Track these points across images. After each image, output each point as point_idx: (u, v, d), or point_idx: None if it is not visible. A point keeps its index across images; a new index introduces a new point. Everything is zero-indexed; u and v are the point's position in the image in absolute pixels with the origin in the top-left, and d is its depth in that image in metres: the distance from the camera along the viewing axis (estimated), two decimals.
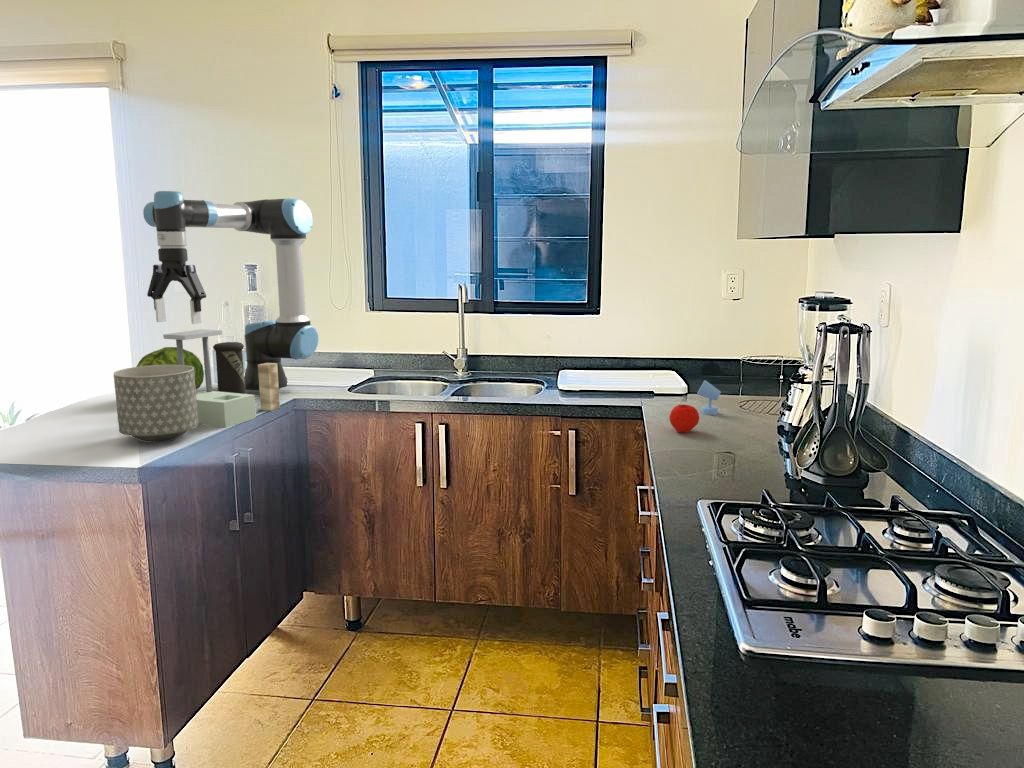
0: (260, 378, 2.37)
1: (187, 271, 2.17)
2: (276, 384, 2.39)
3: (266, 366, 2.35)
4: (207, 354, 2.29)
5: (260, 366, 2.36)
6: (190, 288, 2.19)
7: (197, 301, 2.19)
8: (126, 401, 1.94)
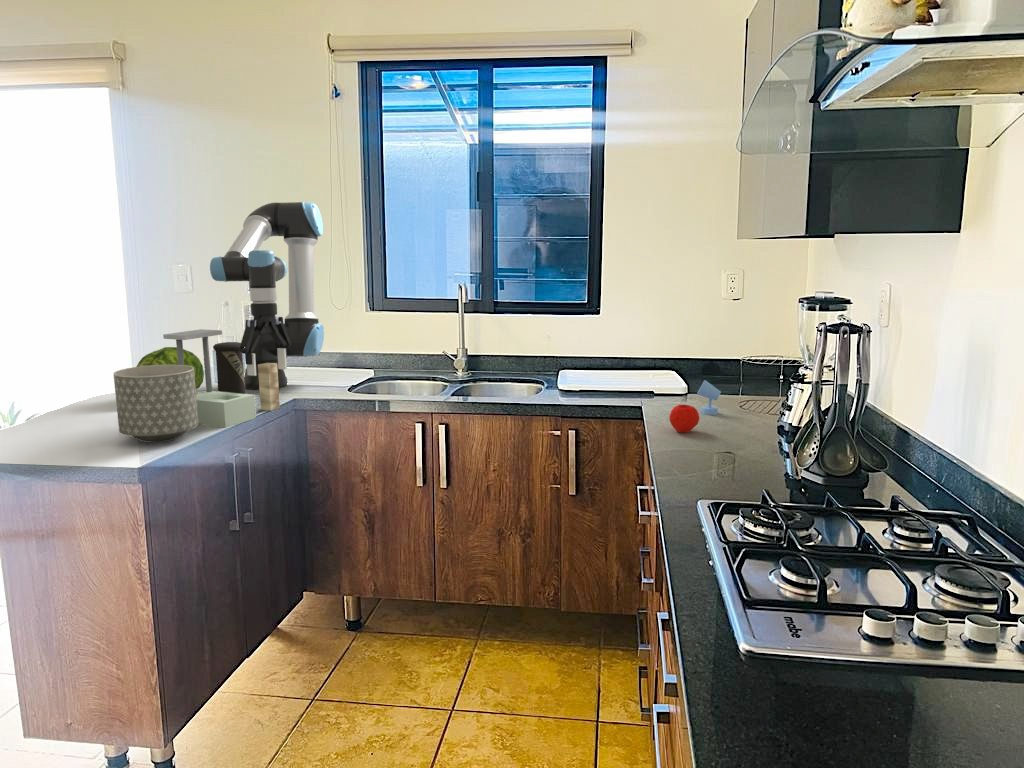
0: (260, 378, 2.37)
1: None
2: (276, 384, 2.39)
3: (266, 366, 2.35)
4: (207, 354, 2.29)
5: (260, 366, 2.36)
6: None
7: (245, 354, 2.29)
8: (126, 401, 1.94)
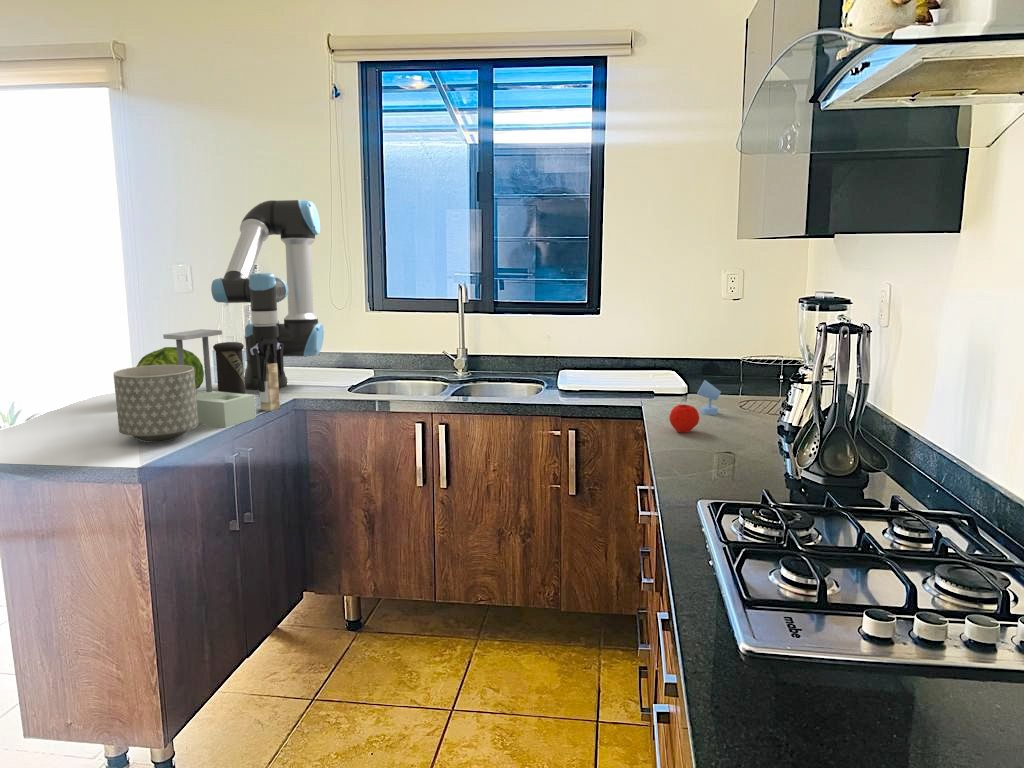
0: None
1: None
2: (276, 384, 2.39)
3: (266, 366, 2.35)
4: (207, 354, 2.29)
5: None
6: None
7: (258, 382, 2.35)
8: (126, 401, 1.94)
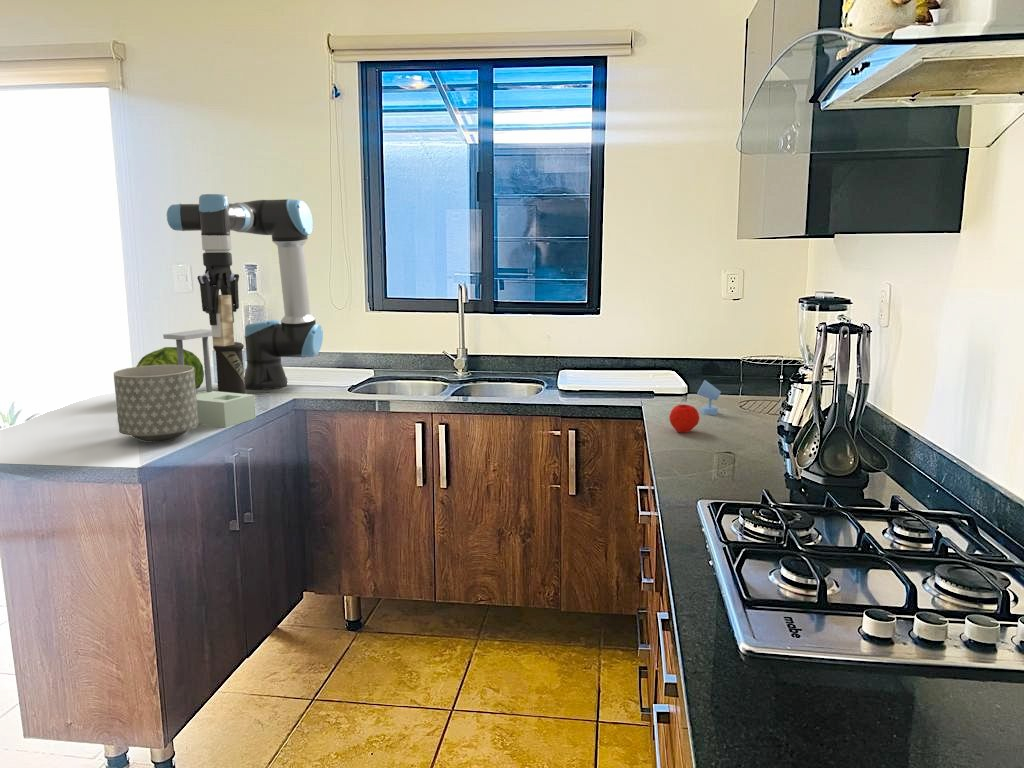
0: None
1: None
2: (229, 318, 2.18)
3: (218, 297, 2.15)
4: (207, 354, 2.29)
5: None
6: None
7: (209, 314, 2.15)
8: (126, 401, 1.94)
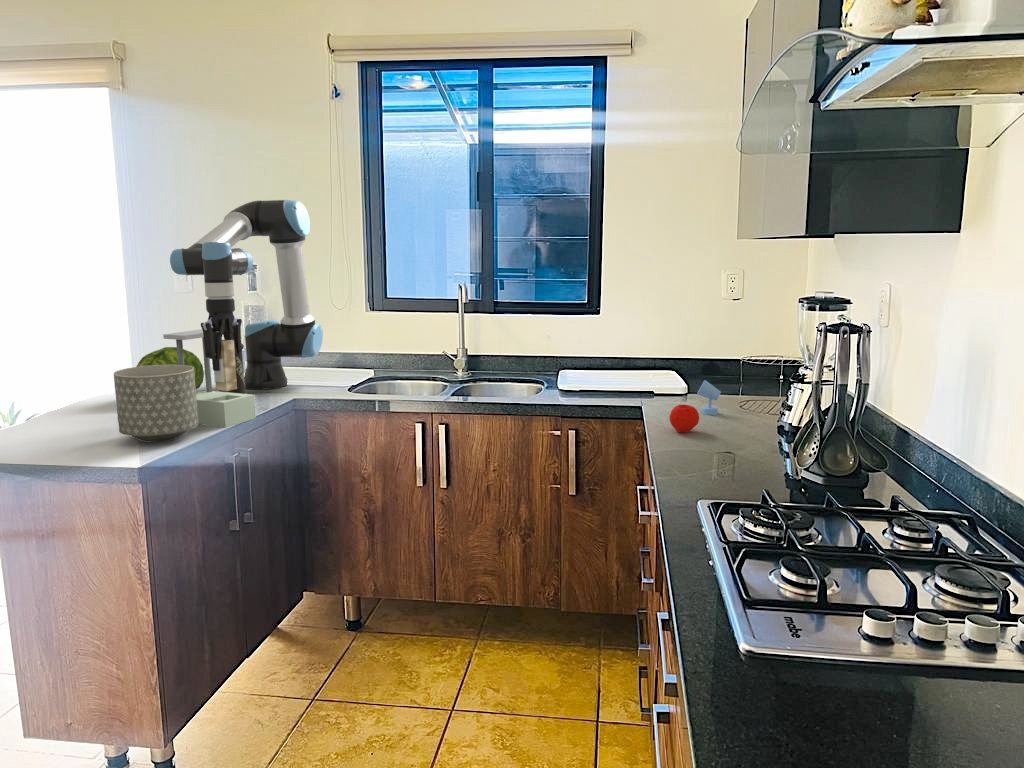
0: None
1: None
2: (232, 362, 2.21)
3: (221, 342, 2.17)
4: None
5: None
6: None
7: (212, 360, 2.17)
8: (126, 401, 1.94)
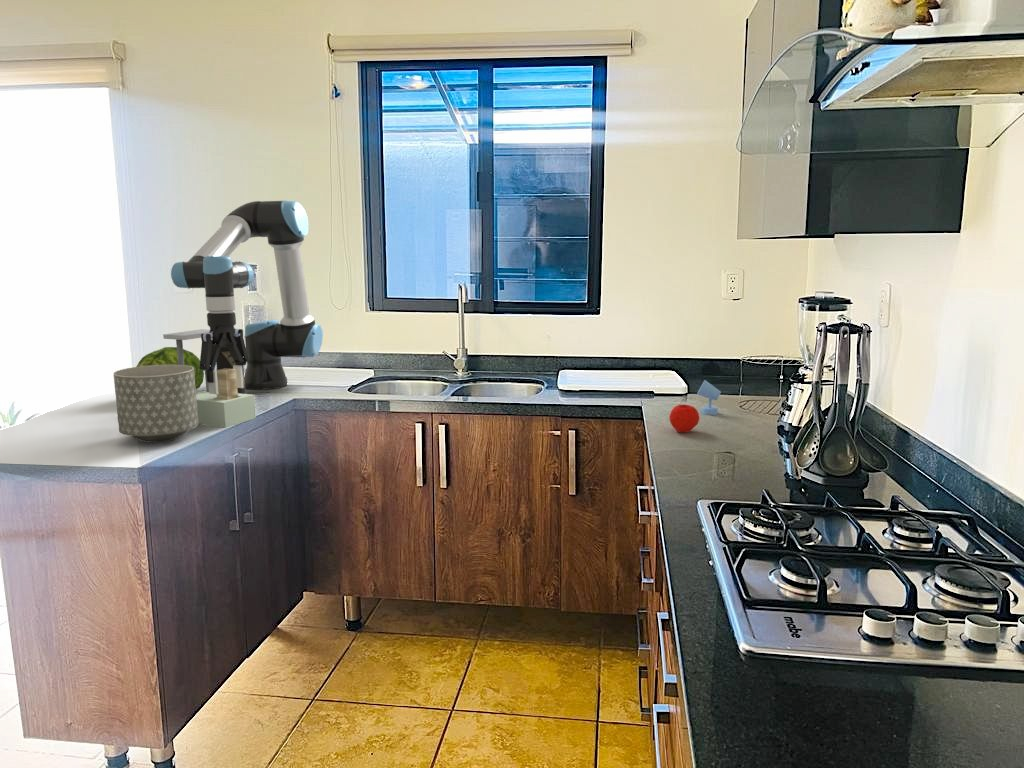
0: None
1: None
2: (234, 391, 2.22)
3: (223, 372, 2.19)
4: None
5: (217, 372, 2.20)
6: (209, 357, 2.16)
7: (206, 372, 2.15)
8: (126, 401, 1.94)
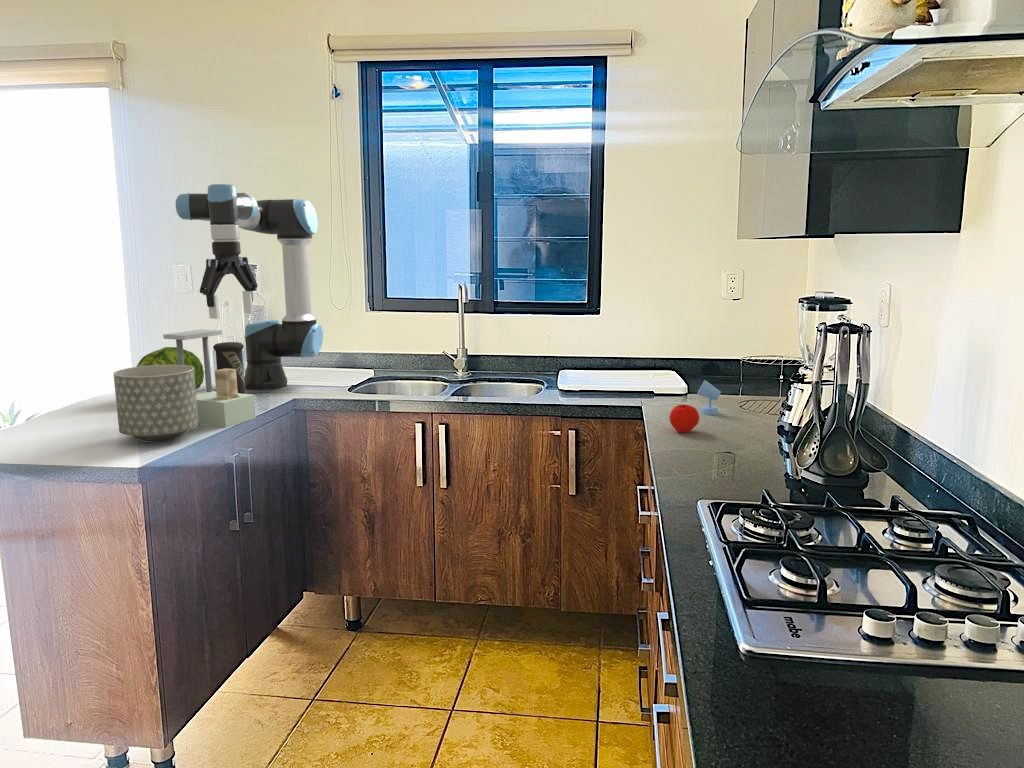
0: (217, 385, 2.21)
1: None
2: (234, 391, 2.22)
3: (223, 372, 2.19)
4: (207, 354, 2.29)
5: (217, 372, 2.20)
6: None
7: (207, 296, 2.16)
8: (126, 401, 1.94)
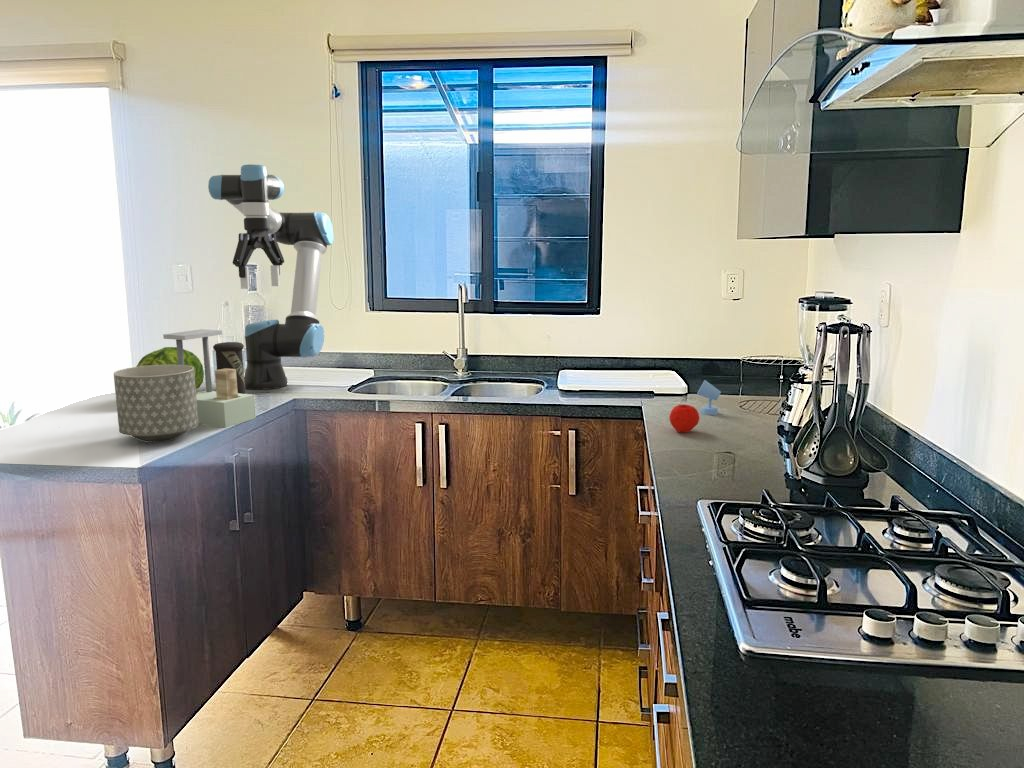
0: (217, 385, 2.21)
1: None
2: (234, 391, 2.22)
3: (223, 372, 2.19)
4: (207, 354, 2.29)
5: (217, 372, 2.20)
6: None
7: (239, 267, 2.33)
8: (126, 401, 1.94)
